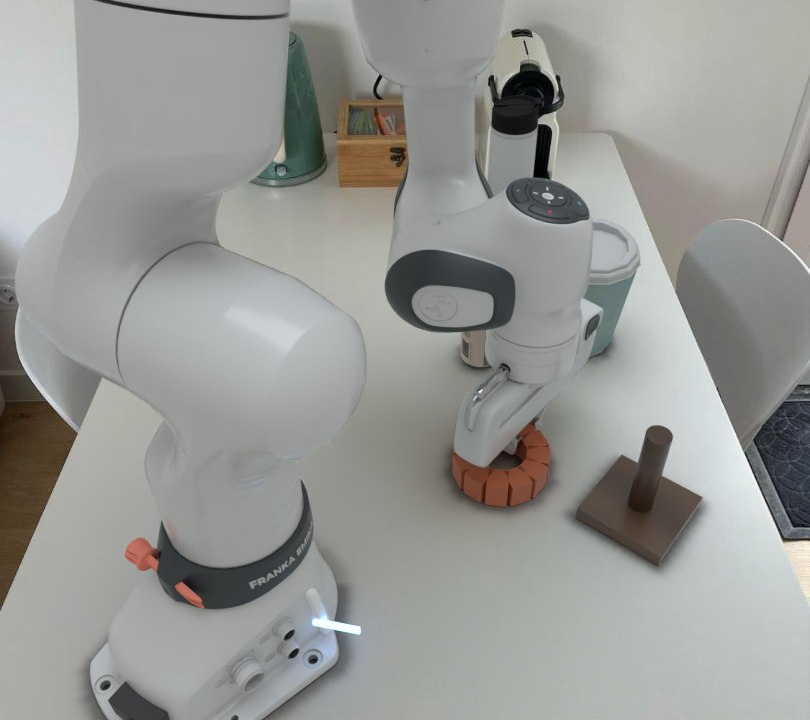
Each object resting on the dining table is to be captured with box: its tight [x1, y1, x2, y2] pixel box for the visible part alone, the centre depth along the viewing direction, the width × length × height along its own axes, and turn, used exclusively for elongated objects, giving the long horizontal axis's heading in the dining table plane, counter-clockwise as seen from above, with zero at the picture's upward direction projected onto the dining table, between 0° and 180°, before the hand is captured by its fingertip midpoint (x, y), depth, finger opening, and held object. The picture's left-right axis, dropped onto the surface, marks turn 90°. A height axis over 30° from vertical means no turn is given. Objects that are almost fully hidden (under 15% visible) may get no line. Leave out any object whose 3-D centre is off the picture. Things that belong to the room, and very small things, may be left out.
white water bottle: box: [487, 94, 544, 196], centre depth 112 cm, size 6×7×20 cm
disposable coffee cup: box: [583, 217, 642, 358], centre depth 96 cm, size 11×11×15 cm
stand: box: [575, 424, 703, 567], centre depth 77 cm, size 9×9×12 cm
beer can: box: [459, 330, 491, 368], centre depth 95 cm, size 5×5×12 cm
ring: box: [451, 423, 552, 508], centre depth 85 cm, size 10×10×3 cm
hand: (520, 437), depth 87 cm, fingers closed on ring, 2 cm apart
